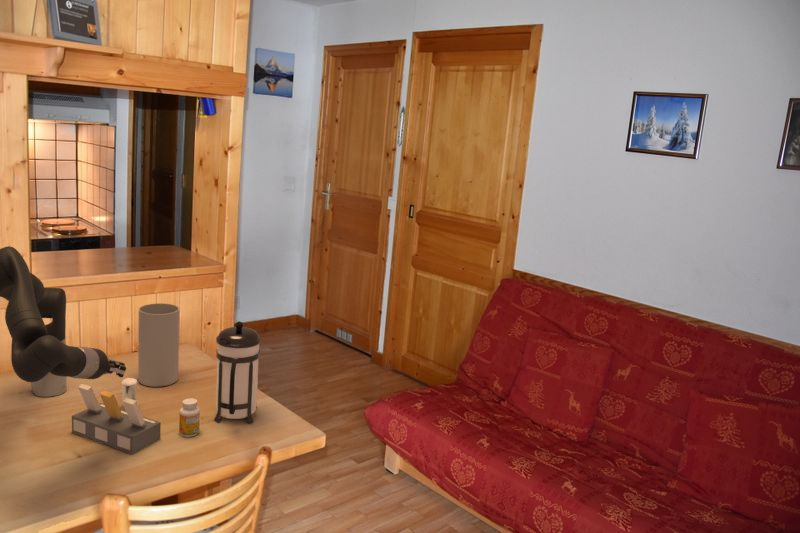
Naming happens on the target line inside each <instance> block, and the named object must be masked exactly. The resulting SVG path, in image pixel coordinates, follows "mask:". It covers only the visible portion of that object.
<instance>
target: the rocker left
mask: <svg viewBox="0 0 800 533" xmlns="http://www.w3.org/2000/svg"><path fill="white" fill-rule="evenodd" d="M77 388H78V390H79V393H80V394H81V396H82V399H83V401H84V403H85V406H86V409H89V410H92V411H95V412H98V413H101V412H102V410H101V409H100V408H101V407H100V405H99V404H100V403H99V400H98V398H97V396H96V393H95V392H94V389H93V387H92V386H90V385H87V384H84V383H81V384H80V385H79V386H78V387H77Z"/></svg>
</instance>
